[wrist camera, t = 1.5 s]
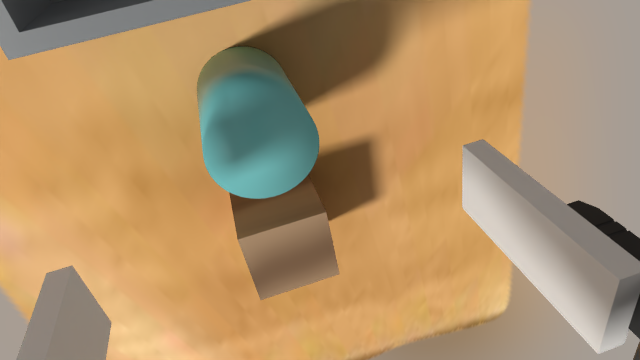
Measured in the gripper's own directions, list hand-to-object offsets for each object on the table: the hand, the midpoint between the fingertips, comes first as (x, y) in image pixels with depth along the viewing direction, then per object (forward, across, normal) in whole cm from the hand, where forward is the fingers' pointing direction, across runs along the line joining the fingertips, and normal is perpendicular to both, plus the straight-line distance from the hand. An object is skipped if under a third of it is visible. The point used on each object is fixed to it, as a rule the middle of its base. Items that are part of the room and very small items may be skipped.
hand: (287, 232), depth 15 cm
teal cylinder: (+12, 0, 0) cm, 12 cm away
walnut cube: (+13, 0, -8) cm, 15 cm away
